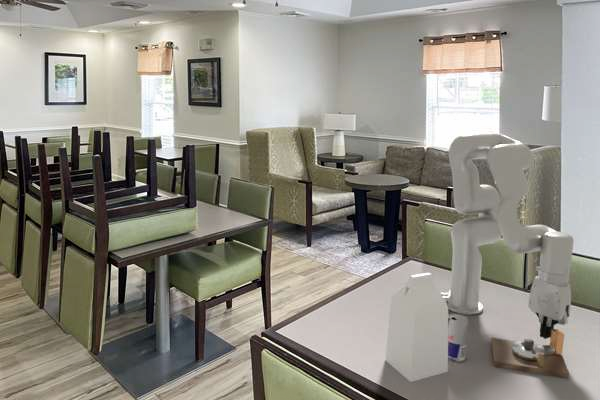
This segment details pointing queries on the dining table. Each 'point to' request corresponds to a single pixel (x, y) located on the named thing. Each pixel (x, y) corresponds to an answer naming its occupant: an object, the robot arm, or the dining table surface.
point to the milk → (418, 329)
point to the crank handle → (540, 347)
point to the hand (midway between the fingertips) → (545, 336)
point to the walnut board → (543, 365)
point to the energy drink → (457, 337)
